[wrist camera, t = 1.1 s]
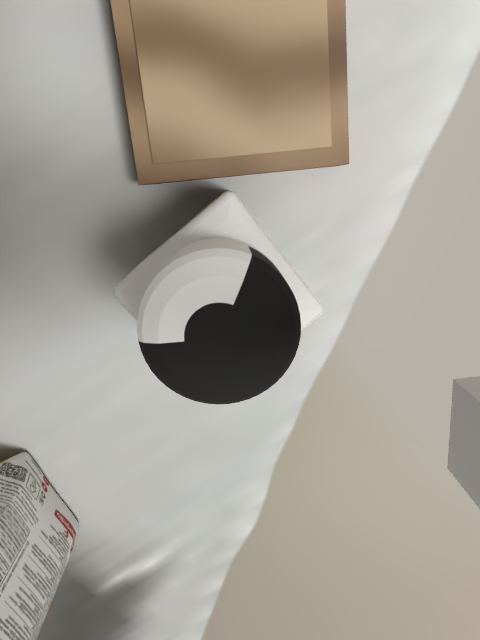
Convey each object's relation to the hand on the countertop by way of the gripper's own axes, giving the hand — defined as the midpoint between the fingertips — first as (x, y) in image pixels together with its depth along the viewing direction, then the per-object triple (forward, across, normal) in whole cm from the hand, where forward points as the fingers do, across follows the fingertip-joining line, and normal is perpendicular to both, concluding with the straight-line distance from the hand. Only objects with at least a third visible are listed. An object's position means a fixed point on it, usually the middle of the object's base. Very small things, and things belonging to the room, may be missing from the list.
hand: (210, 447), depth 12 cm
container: (+19, 0, +1) cm, 19 cm away
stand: (+19, +2, +13) cm, 23 cm away
